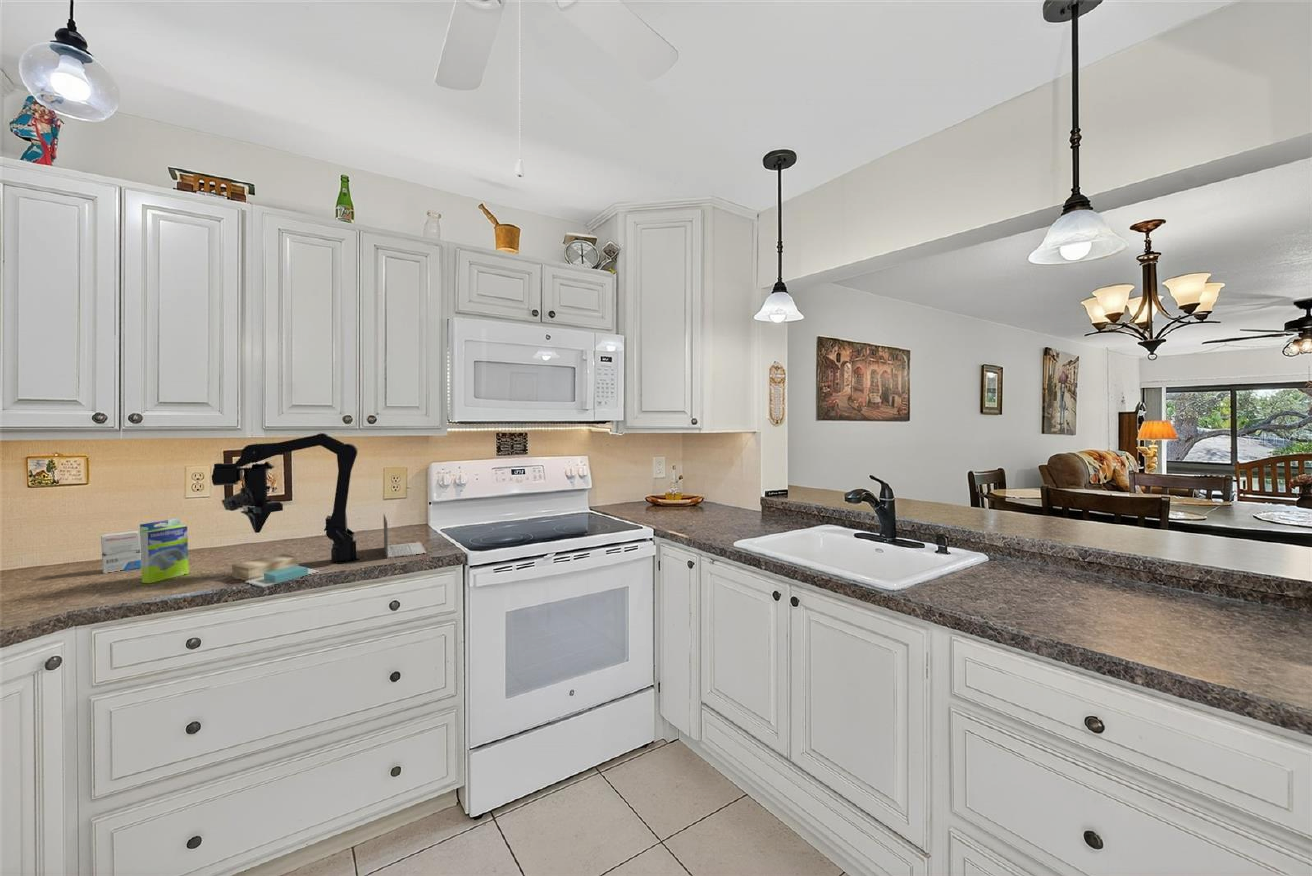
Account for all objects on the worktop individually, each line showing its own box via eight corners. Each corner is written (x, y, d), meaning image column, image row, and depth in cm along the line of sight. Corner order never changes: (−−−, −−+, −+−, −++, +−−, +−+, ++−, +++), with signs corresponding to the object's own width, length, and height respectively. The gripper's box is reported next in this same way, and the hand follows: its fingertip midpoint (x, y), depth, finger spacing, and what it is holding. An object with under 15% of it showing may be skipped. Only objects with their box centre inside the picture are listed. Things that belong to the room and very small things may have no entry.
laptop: (426, 554, 185) (425, 518, 185) (386, 559, 179) (385, 521, 178) (420, 544, 201) (419, 510, 200) (383, 548, 195) (383, 513, 194)
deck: (282, 565, 171) (282, 553, 170) (298, 569, 167) (298, 557, 166) (232, 577, 158) (232, 564, 158) (248, 581, 154) (248, 568, 154)
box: (149, 584, 152) (146, 525, 152) (140, 582, 154) (137, 524, 153) (190, 573, 162) (188, 518, 162) (181, 572, 164) (179, 517, 163)
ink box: (141, 565, 172) (139, 529, 171) (141, 568, 168) (139, 532, 168) (103, 570, 166) (101, 534, 165) (102, 574, 162) (100, 536, 162)
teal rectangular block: (307, 567, 160) (307, 574, 160) (296, 565, 162) (296, 571, 162) (275, 575, 152) (275, 582, 152) (264, 573, 154) (264, 579, 154)
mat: (302, 568, 167) (302, 567, 167) (319, 572, 163) (319, 570, 163) (245, 583, 153) (245, 581, 153) (262, 587, 149) (262, 585, 149)
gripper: (209, 485, 162) (211, 534, 163) (242, 488, 154) (244, 541, 154) (250, 481, 172) (252, 528, 173) (283, 484, 164) (284, 533, 164)
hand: (257, 532), depth 166 cm, fingers closed
